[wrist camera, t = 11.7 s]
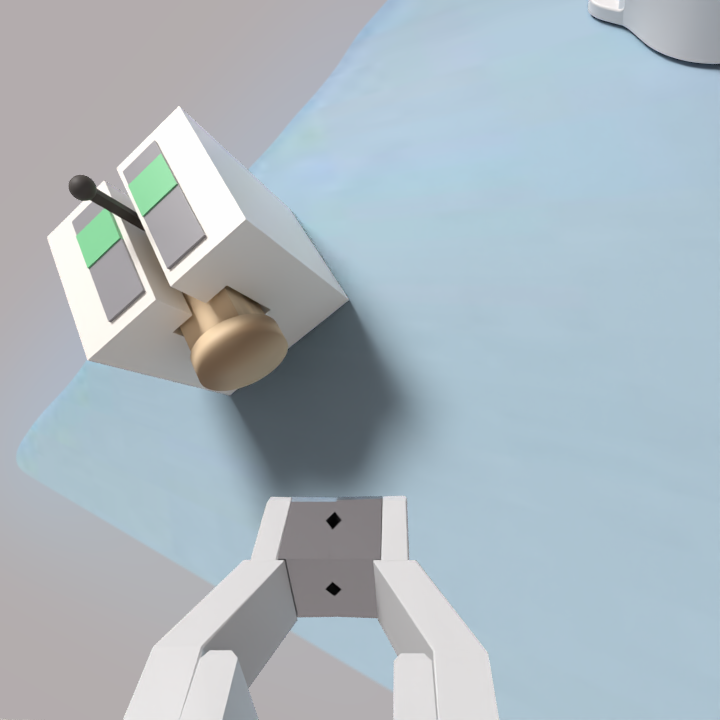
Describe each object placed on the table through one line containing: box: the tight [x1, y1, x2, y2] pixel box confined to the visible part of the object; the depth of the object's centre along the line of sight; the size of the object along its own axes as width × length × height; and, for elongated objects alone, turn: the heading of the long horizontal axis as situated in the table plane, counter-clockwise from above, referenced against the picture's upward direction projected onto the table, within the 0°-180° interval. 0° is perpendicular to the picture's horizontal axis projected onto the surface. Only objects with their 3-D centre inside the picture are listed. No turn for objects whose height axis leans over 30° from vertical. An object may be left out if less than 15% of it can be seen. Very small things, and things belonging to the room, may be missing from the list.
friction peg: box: [69, 175, 288, 391], centre depth 32 cm, size 12×6×12 cm, turn 33°
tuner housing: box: [47, 106, 349, 395], centre depth 37 cm, size 11×13×14 cm
